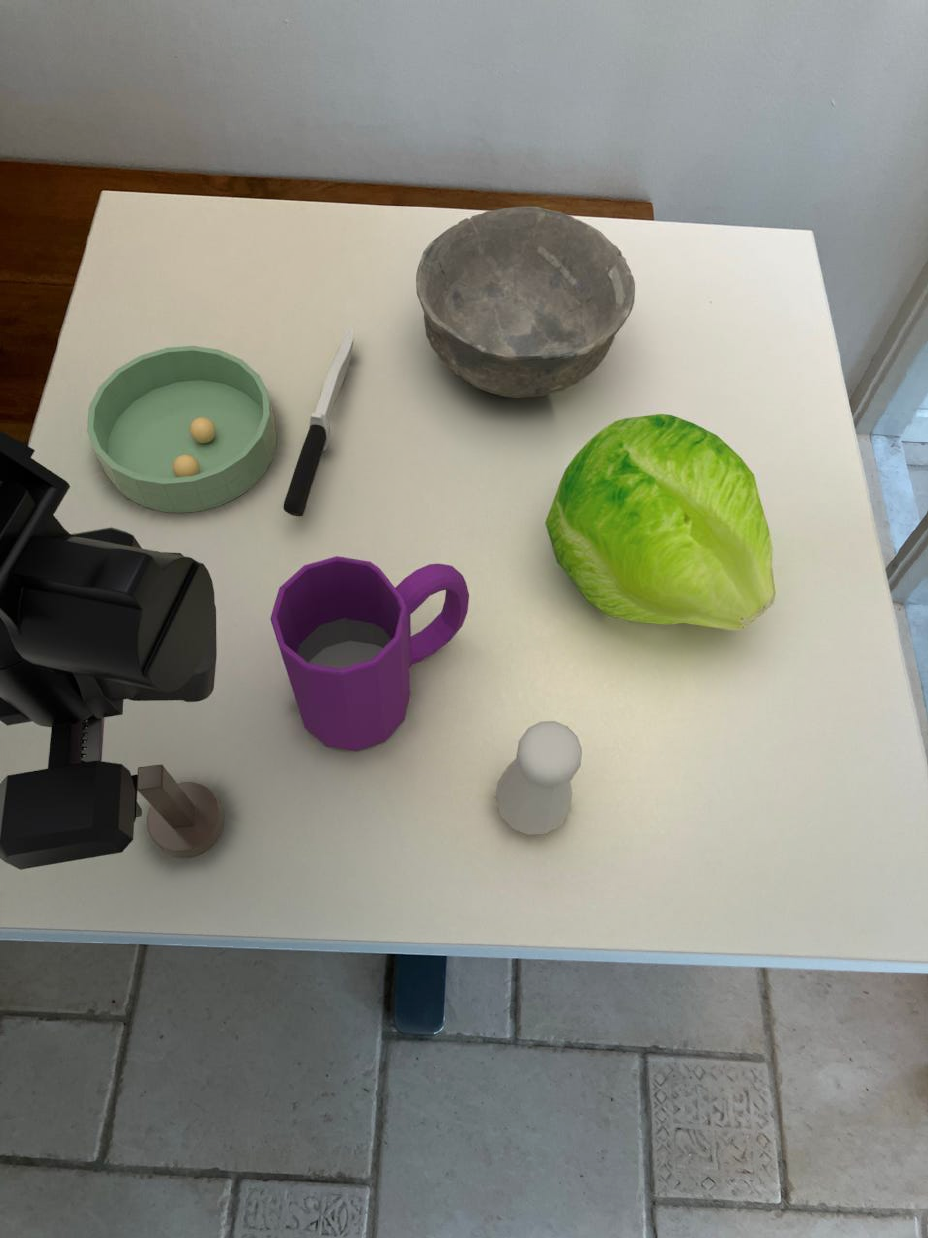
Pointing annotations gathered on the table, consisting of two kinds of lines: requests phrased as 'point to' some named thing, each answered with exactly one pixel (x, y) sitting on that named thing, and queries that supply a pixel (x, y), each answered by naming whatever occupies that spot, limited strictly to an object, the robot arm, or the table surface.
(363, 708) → the mug
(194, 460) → the bean
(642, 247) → the table surface
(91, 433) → the mixing bowl
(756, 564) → the lettuce
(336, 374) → the knife
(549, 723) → the salt shaker
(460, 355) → the bowl
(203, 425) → the bean
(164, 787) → the lever handle
